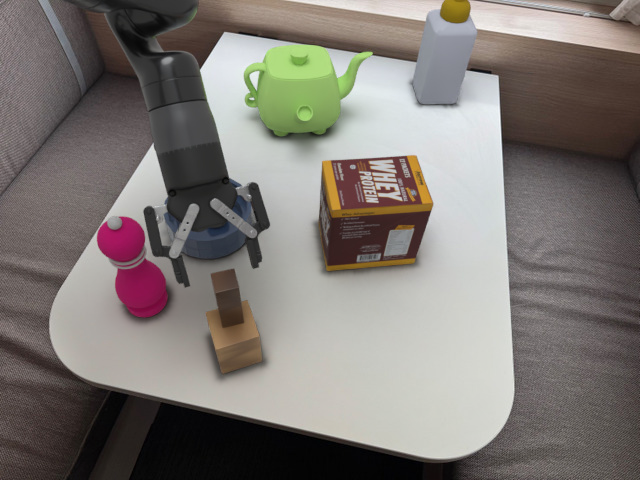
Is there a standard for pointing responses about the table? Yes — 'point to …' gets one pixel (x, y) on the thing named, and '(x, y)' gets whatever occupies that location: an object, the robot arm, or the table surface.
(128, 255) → the pepper mill
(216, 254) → the bowl
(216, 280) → the tall bronze square pillar
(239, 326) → the light wooden block
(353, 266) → the supplement box
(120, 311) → the table surface
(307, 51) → the teapot
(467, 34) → the soap bottle
